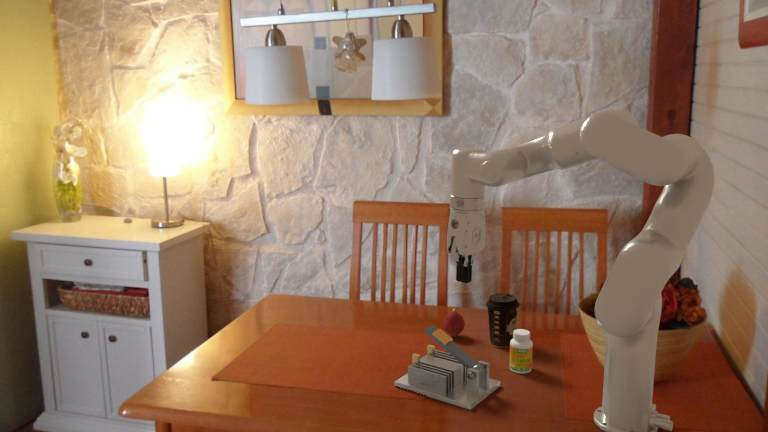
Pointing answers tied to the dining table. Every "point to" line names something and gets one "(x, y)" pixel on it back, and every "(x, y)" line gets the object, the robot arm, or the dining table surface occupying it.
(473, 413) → the dining table surface
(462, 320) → the onion
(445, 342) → the strap
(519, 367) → the supplement bottle
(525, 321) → the dining table surface
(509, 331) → the coffee cup
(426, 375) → the heatsink base
